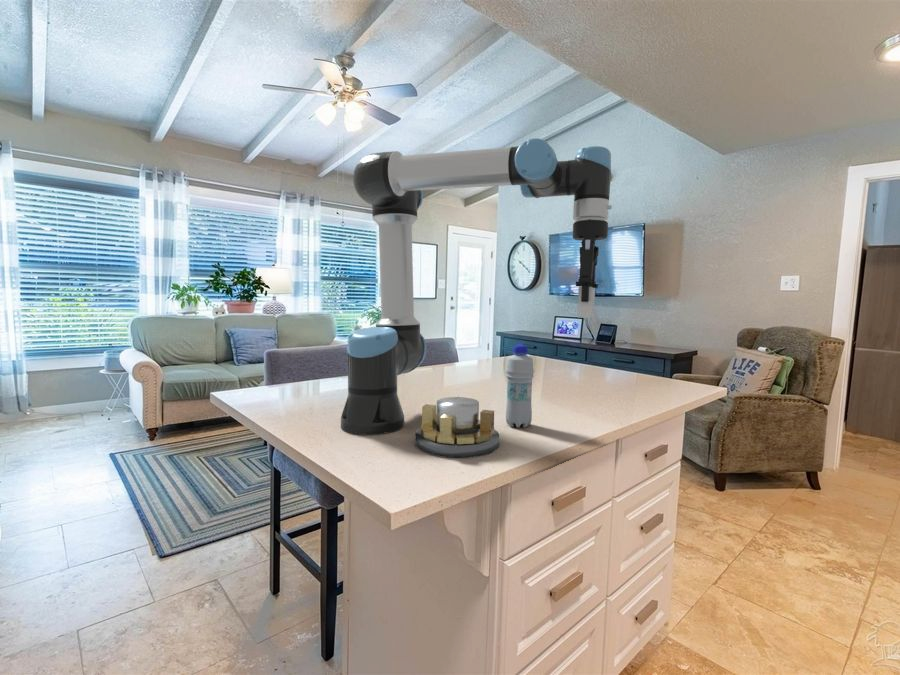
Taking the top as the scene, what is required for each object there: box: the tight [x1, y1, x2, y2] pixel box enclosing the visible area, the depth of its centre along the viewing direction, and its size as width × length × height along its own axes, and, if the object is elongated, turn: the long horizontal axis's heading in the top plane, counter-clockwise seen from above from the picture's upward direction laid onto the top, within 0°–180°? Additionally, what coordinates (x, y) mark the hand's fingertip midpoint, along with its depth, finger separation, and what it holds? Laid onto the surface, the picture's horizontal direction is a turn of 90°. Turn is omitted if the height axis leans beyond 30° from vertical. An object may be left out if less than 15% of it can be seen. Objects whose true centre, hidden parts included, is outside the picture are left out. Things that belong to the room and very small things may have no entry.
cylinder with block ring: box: [420, 404, 495, 444], centre depth 97 cm, size 15×15×5 cm
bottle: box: [505, 344, 535, 429], centre depth 110 cm, size 7×7×20 cm
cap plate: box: [414, 396, 500, 459], centre depth 97 cm, size 18×18×9 cm
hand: (586, 316), depth 103 cm, fingers open, 13 cm apart
